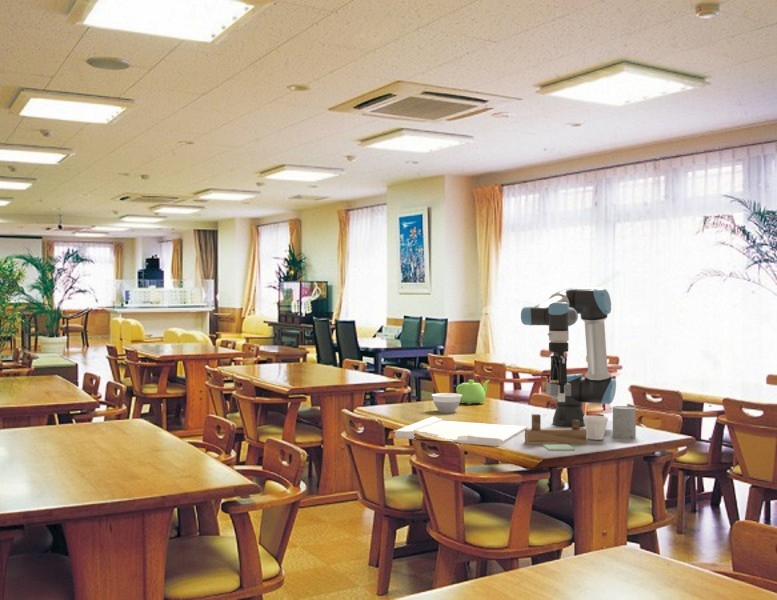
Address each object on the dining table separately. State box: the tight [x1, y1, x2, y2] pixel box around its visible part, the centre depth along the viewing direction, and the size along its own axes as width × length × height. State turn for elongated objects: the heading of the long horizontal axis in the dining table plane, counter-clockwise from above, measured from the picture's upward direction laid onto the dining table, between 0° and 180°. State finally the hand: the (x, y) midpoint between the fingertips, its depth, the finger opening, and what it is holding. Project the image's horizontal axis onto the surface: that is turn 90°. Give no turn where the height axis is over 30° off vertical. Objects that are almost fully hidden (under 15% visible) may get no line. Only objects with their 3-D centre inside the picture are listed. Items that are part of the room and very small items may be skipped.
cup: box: [583, 415, 609, 441], centre depth 331 cm, size 10×10×9 cm
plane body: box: [524, 413, 587, 445], centre depth 323 cm, size 5×24×12 cm, turn 94°
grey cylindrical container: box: [612, 405, 637, 439], centre depth 338 cm, size 10×10×12 cm
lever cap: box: [545, 380, 571, 397], centre depth 311 cm, size 7×8×6 cm
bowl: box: [431, 392, 462, 414], centre depth 412 cm, size 16×16×9 cm
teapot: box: [455, 379, 491, 405], centre depth 444 cm, size 22×15×13 cm
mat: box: [541, 444, 576, 452], centre depth 311 cm, size 10×10×1 cm
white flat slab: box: [394, 415, 528, 447], centre depth 345 cm, size 45×45×4 cm
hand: (558, 400), depth 311 cm, fingers closed on lever cap, 7 cm apart
